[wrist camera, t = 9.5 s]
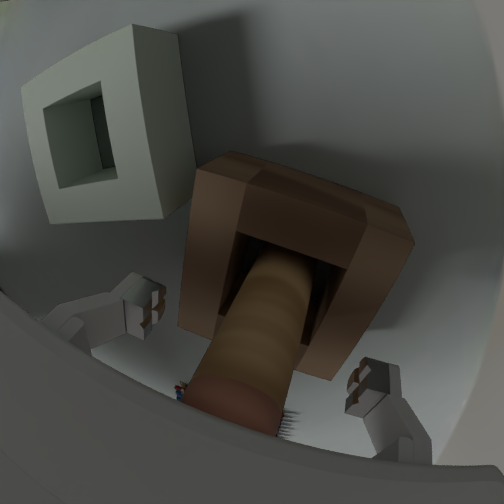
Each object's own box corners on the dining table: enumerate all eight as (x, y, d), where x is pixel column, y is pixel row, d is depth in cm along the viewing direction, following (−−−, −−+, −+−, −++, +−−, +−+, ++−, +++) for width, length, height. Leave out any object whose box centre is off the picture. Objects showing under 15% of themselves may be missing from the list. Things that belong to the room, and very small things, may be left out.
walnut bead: (336, 332, 19) (330, 381, 15) (204, 286, 20) (177, 325, 16) (399, 207, 14) (415, 243, 11) (230, 150, 15) (196, 168, 12)
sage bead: (200, 191, 17) (163, 219, 13) (89, 201, 19) (50, 224, 16) (177, 34, 12) (132, 23, 9) (66, 80, 15) (20, 87, 12)
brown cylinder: (308, 281, 17) (250, 487, 7) (259, 263, 18) (161, 453, 8) (326, 237, 16) (277, 463, 6) (272, 218, 16) (157, 418, 6)
